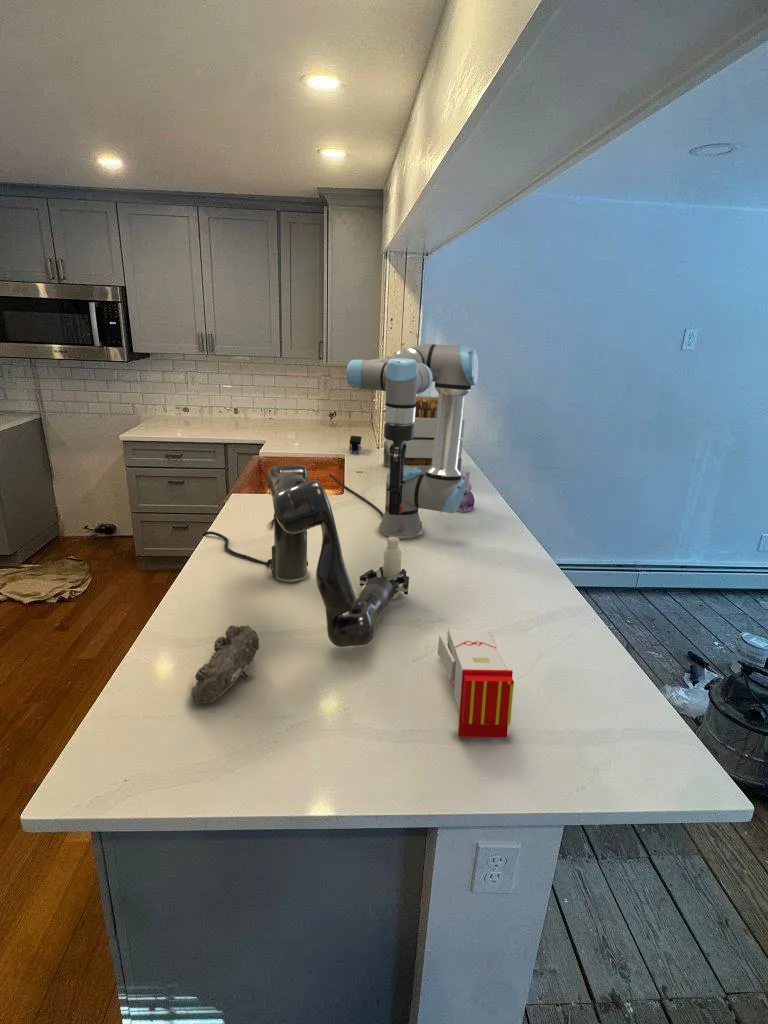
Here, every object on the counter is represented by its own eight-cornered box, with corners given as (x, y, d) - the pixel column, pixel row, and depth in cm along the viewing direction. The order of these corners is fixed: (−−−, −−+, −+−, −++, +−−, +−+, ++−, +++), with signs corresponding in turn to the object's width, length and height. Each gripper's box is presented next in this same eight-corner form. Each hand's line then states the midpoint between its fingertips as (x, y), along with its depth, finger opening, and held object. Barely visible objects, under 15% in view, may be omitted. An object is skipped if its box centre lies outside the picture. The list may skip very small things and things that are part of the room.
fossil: (211, 627, 129) (258, 597, 124) (240, 656, 132) (287, 627, 127) (170, 698, 110) (224, 665, 105) (204, 729, 113) (259, 699, 108)
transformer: (382, 463, 289) (386, 382, 275) (445, 464, 293) (451, 384, 279) (390, 482, 257) (394, 392, 243) (460, 483, 261) (468, 394, 247)
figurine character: (361, 457, 304) (361, 447, 317) (361, 444, 301) (362, 434, 314) (348, 456, 304) (349, 447, 317) (348, 443, 300) (349, 434, 314)
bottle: (402, 595, 157) (406, 539, 152) (390, 600, 154) (393, 543, 148) (390, 589, 160) (393, 533, 155) (377, 594, 157) (380, 538, 152)
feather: (287, 506, 225) (290, 502, 224) (270, 530, 198) (272, 526, 198) (283, 504, 225) (286, 500, 224) (265, 527, 198) (268, 523, 197)
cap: (402, 508, 151) (402, 501, 151) (404, 513, 147) (404, 507, 147) (386, 508, 151) (386, 501, 150) (387, 513, 147) (388, 507, 146)
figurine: (461, 514, 221) (464, 477, 216) (446, 506, 230) (449, 470, 225) (480, 511, 226) (484, 475, 221) (466, 503, 234) (469, 468, 229)
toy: (488, 613, 130) (523, 677, 101) (484, 667, 133) (517, 744, 104) (435, 612, 130) (455, 676, 101) (432, 666, 133) (451, 743, 103)
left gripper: (402, 589, 139) (420, 562, 154) (348, 579, 143) (370, 553, 158) (401, 616, 142) (418, 586, 157) (347, 605, 145) (369, 577, 161)
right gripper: (388, 415, 149) (385, 499, 158) (379, 429, 133) (376, 521, 142) (417, 417, 149) (412, 501, 157) (411, 431, 133) (406, 524, 141)
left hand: (394, 570), depth 157 cm, fingers closed on bottle, 5 cm apart
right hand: (395, 510), depth 149 cm, fingers closed on cap, 4 cm apart
